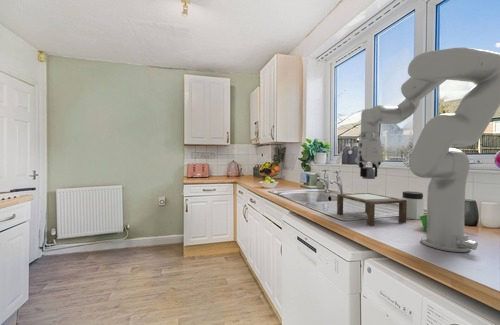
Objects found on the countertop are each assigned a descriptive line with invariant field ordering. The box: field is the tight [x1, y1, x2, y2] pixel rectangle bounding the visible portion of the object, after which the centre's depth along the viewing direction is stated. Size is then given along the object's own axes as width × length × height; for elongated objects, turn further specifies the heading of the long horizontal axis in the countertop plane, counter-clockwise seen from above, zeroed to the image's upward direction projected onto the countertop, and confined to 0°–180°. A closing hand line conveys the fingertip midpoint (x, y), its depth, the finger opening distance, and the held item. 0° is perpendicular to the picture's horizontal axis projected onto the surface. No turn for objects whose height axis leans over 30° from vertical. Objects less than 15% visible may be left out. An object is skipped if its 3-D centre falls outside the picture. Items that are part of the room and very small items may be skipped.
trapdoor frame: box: [336, 192, 407, 227], centre depth 115 cm, size 22×19×10 cm
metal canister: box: [361, 166, 376, 180], centre depth 112 cm, size 5×5×5 cm
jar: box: [401, 190, 425, 221], centre depth 117 cm, size 9×8×12 cm
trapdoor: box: [346, 193, 395, 201], centre depth 115 cm, size 17×14×2 cm
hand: (368, 176), depth 112 cm, fingers closed on metal canister, 5 cm apart
